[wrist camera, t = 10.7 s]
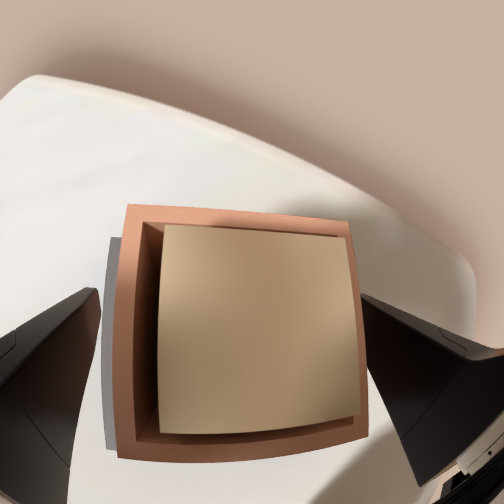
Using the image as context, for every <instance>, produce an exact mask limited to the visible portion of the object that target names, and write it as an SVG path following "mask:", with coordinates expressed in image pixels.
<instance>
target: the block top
mask: <svg viewBox="0 0 504 504" xmlns="http://www.w3.org/2000/svg"><path fill="white" fill-rule="evenodd" d="M158 403H159V424H160V433H179V434H220V433H241V432H254V431H265V430H275V429H283V428H290V427H297V426H304V425H310V424H316V423H321V422H326V421H331V420H336V419H341V418H345V417H350V416H354V415H358V414H361V404H360V374H359V356H358V342H357V330H356V319H355V310H354V300H353V292H352V284H351V276H350V269H349V262H348V255H347V249H346V243H345V238H337V237H326V236H315V235H303V234H291V233H279V232H267V231H254V230H240V229H226V228H212V227H197V226H181V225H165V231H164V241H163V252H162V264H161V277H160V293H159V315H158Z"/></svg>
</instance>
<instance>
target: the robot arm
mask: <svg viewBox="0 0 504 504" xmlns="http://www.w3.org/2000/svg"><path fill="white" fill-rule="evenodd" d="M360 298H361V306H362V315H363V324H364V335H365V347H366V361H367V368H368V370H369V372H370V374H371V376H372V378H373V380H374V382H375V385H376V387H377V389H378V391H379V393H380V395H381V398H382V400H383V402H384V404H385V406H386V409H387V411H388V413H389V415H390V418H391V420H392V422H393V424H394V427H395V429H396V431H397V434H398V436H399V438H400V440H401V444H402V446H403V448H404V451H405V453H406V456H407V458H408V461H409V463H410V466H411V468H412V471H413V473H414V476H415V478H416V481H417V483H418V485H419V487H421V486H423V485H425V484H426V483H428V482H430V481H431V480H433V479H435V478H436V477H438V476H440V475H441V474H443V473H444V472H446V471H447V470H449V469H450V468H452V467H453V466H455V465H456V464H457V465H458V466H459V468H460V469H461V471H460V472H458V473H457V474H456V475H454V476H453V477H452V478H450V479H449V480H448V481H446V482H445V483H444V484H443V488H442V492H441V497H440V499H439V500H437V501H436V502H434V503H433V504H504V348H501V349H494V348H489V347H487V346H484V345H481V344H479V343H476V342H474V341H471V340H469V339H466V338H463V337H461V336H459V335H456V334H454V333H451V332H449V331H447V330H445V329H442V328H440V327H437V326H436V325H433V324H431V323H429V322H427V321H424V320H422V319H420V318H418V317H415V316H413V315H411V314H409V313H406V312H404V311H402V310H400V309H397V308H395V307H393V306H391V305H388V304H386V303H384V302H382V301H379V300H377V299H375V298H373V297H370V296H368V295H366V294H360ZM100 318H101V307H100V300H99V294H98V290H97V289H96V288H89V287H85V288H83V289H82V290H80V291H78V292H76V293H75V294H73V295H71V296H69V297H68V298H66V299H64V300H63V301H61V302H59V303H57V304H56V305H54V306H52V307H51V308H49V309H47V310H46V311H44V312H42V313H41V314H39V315H37V316H36V317H34V318H32V319H31V320H29V321H27V322H26V323H24V324H22V325H21V326H19V327H18V328H16V329H15V330H13V331H11V332H10V333H8V334H6V335H5V336H3V337H2V338H0V504H67V496H68V484H69V475H70V465H71V458H72V451H73V445H74V439H75V433H76V428H77V423H78V418H79V413H80V408H81V404H82V399H83V395H84V391H85V386H86V382H87V379H88V375H89V371H90V367H91V364H92V360H93V356H94V351H95V346H96V340H97V334H98V329H99V323H100Z"/></svg>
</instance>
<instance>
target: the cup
mask: <svg viewBox="0 0 504 504" xmlns="http://www.w3.org/2000/svg"><path fill="white" fill-rule="evenodd" d="M165 225H181V226H197V227H212V228H226V229H240V230H254V231H267V232H279V233H291V234H303V235H315V236H326V237H337V238H345V243H346V249H347V255H348V262H349V269H350V276H351V284H352V292H353V300H354V310H355V319H356V330H357V342H358V356H359V374H360V404H361V414H358V415H354V416H350V417H345V418H341V419H336V420H331V421H326V422H321V423H316V424H310V425H304V426H297V427H290V428H283V429H275V430H265V431H254V432H241V433H220V434H179V433H160V424H159V403H158V315H159V293H160V277H161V264H162V252H163V241H164V231H165ZM112 389H113V411H114V426H115V437H116V447H117V455H118V458H124V459H132V460H142V461H154V462H172V463H216V462H235V461H247V460H257V459H266V458H273V457H280V456H287V455H293V454H299V453H304V452H309V451H314V450H319V449H323V448H328V447H332V446H336V445H340V444H344V443H347V442H351V441H355V440H358V439H362V438H365V437H368V429H369V416H368V379H367V361H366V347H365V335H364V324H363V315H362V306H361V298H360V290H359V282H358V275H357V269H356V262H355V256H354V250H353V244H352V238H351V233H350V227H349V222H345V221H337V220H328V219H319V218H310V217H301V216H291V215H281V214H270V213H259V212H248V211H236V210H223V209H209V208H194V207H178V206H160V205H140V204H128V206H127V211H126V217H125V222H124V228H123V235H122V241H121V248H120V256H119V264H118V272H117V282H116V292H115V304H114V320H113V343H112Z"/></svg>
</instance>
